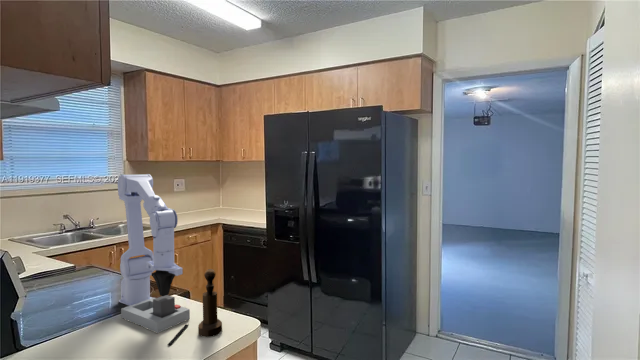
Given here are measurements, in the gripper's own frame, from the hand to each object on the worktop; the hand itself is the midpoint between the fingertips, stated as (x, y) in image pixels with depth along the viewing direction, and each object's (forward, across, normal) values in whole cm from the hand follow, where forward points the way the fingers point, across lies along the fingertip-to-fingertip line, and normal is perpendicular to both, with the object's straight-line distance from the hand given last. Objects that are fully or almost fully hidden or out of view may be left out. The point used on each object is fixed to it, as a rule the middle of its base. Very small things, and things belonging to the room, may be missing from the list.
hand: (164, 294), depth 107 cm
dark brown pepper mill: (+8, +16, +3) cm, 19 cm away
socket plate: (+8, -4, 0) cm, 9 cm away
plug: (+8, 0, 0) cm, 8 cm away
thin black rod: (+9, +10, -3) cm, 14 cm away
